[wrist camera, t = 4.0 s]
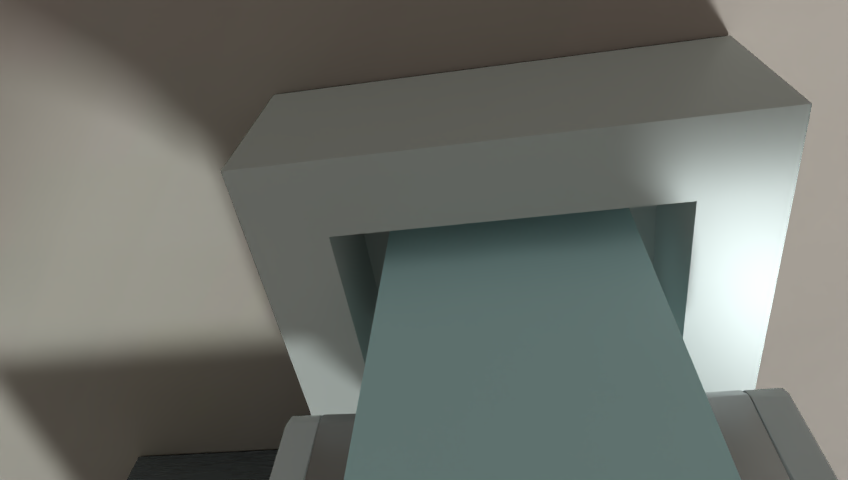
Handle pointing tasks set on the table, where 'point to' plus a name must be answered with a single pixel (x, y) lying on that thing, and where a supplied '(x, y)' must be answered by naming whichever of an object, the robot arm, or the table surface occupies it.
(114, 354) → the table surface
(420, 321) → the plug
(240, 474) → the grey block with recess
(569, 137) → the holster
